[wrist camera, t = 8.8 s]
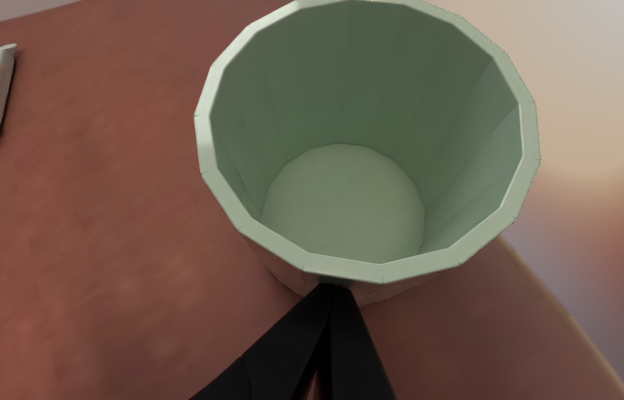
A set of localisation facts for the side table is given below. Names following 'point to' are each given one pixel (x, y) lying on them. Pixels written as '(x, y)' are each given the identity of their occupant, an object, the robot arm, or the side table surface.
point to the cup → (366, 142)
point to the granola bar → (5, 73)
